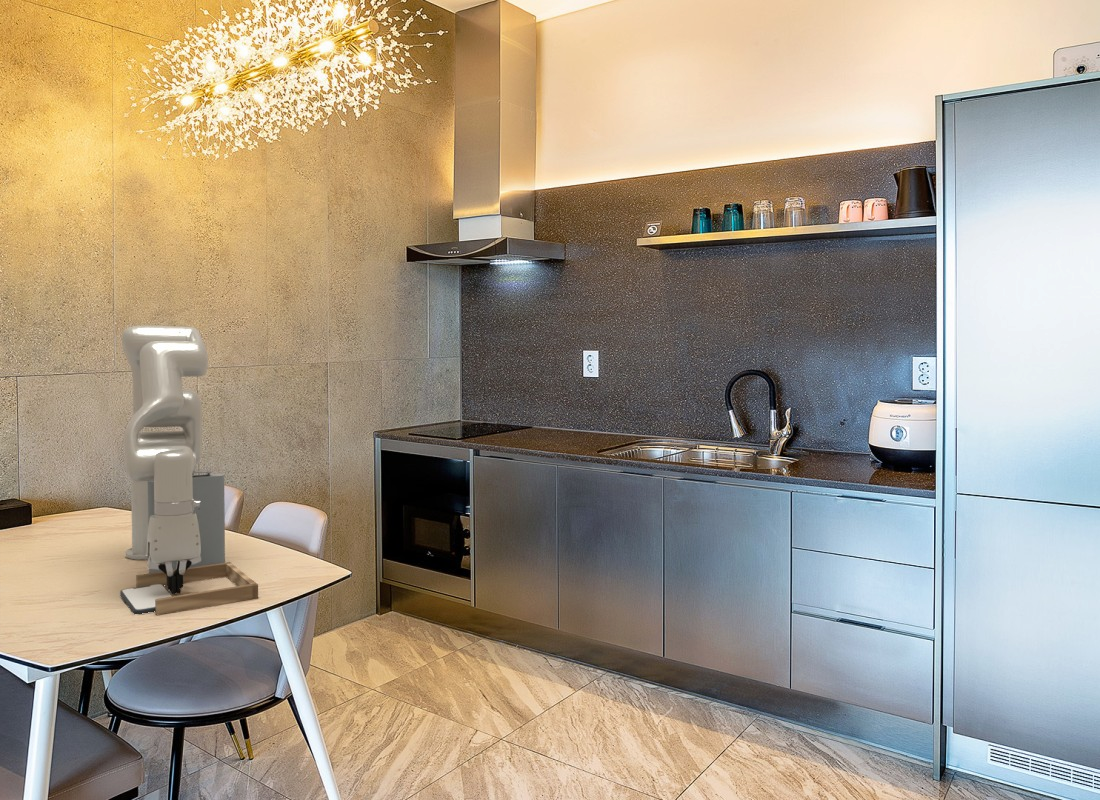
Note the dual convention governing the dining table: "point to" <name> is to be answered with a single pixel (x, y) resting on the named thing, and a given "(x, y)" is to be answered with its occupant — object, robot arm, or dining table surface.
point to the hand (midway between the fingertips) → (175, 592)
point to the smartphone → (144, 597)
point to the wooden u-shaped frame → (241, 592)
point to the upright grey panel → (204, 516)
